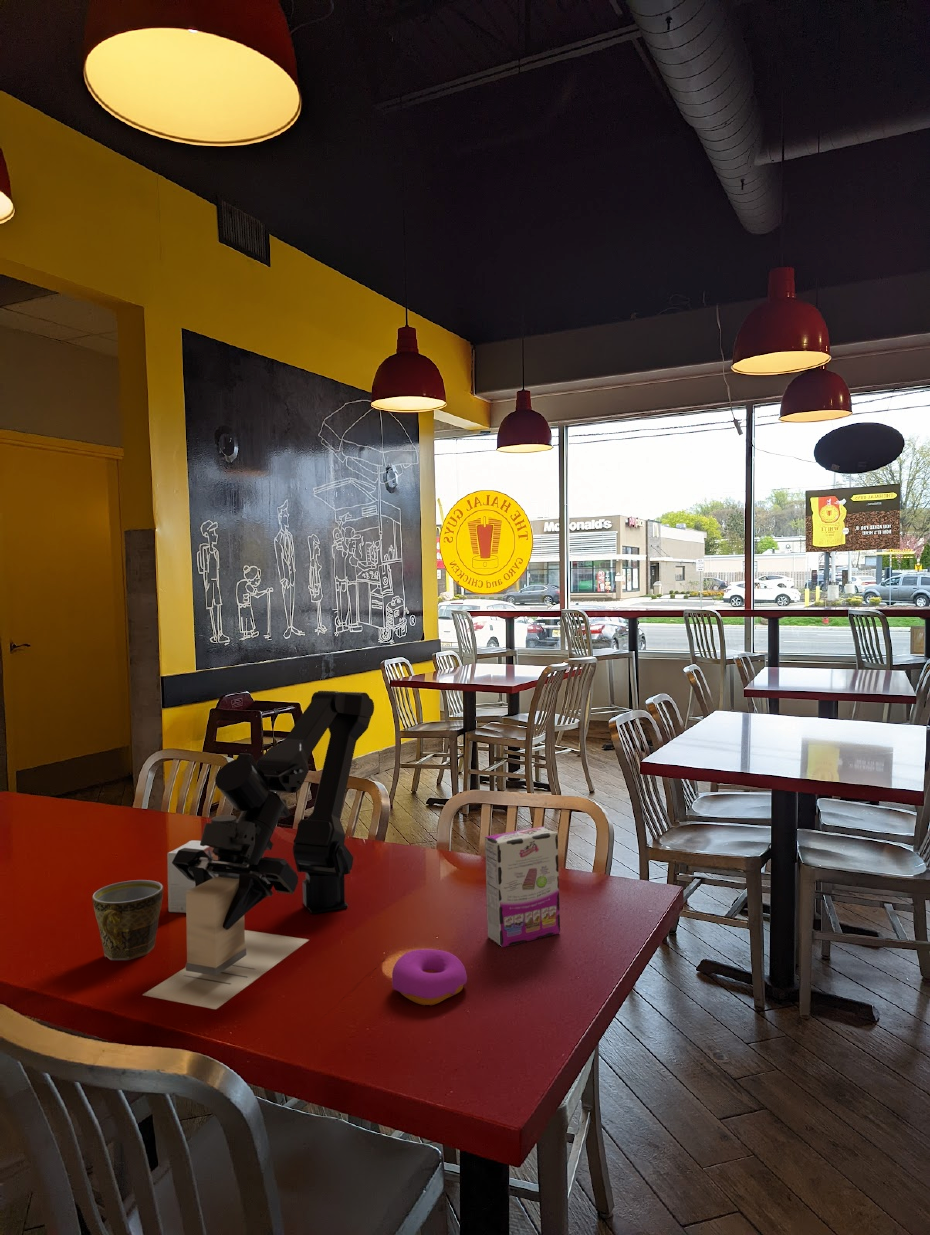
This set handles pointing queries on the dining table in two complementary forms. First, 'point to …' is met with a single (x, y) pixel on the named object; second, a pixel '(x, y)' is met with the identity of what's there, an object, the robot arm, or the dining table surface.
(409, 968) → the donut
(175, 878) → the small box
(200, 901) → the block
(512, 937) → the candy bar box
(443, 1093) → the dining table surface
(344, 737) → the robot arm
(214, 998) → the white lined paper sheet
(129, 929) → the ceramic cup
